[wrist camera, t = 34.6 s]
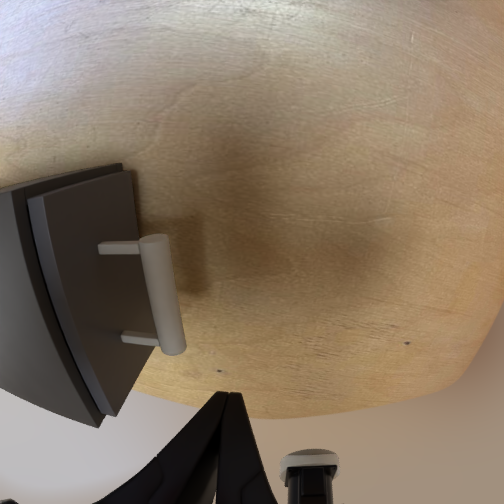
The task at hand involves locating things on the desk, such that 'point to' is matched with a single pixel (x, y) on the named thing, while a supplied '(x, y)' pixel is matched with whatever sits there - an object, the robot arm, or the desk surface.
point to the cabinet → (37, 310)
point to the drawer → (106, 283)
